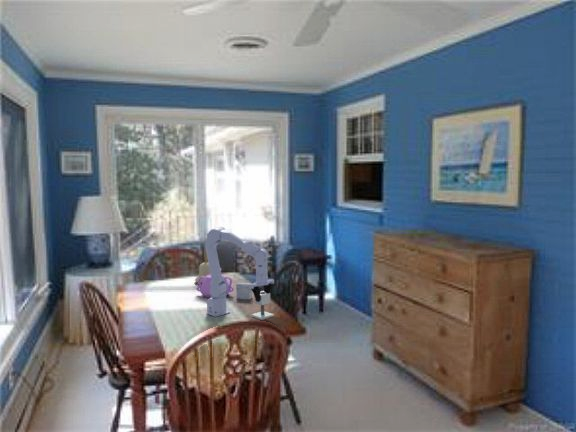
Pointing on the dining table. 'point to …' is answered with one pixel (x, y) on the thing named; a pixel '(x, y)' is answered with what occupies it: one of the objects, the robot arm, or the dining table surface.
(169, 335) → the dining table surface
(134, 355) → the dining table surface
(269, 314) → the post stand
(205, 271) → the handbell
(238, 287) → the medicine box
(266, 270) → the robot arm
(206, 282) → the teapot
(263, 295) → the steel collar
